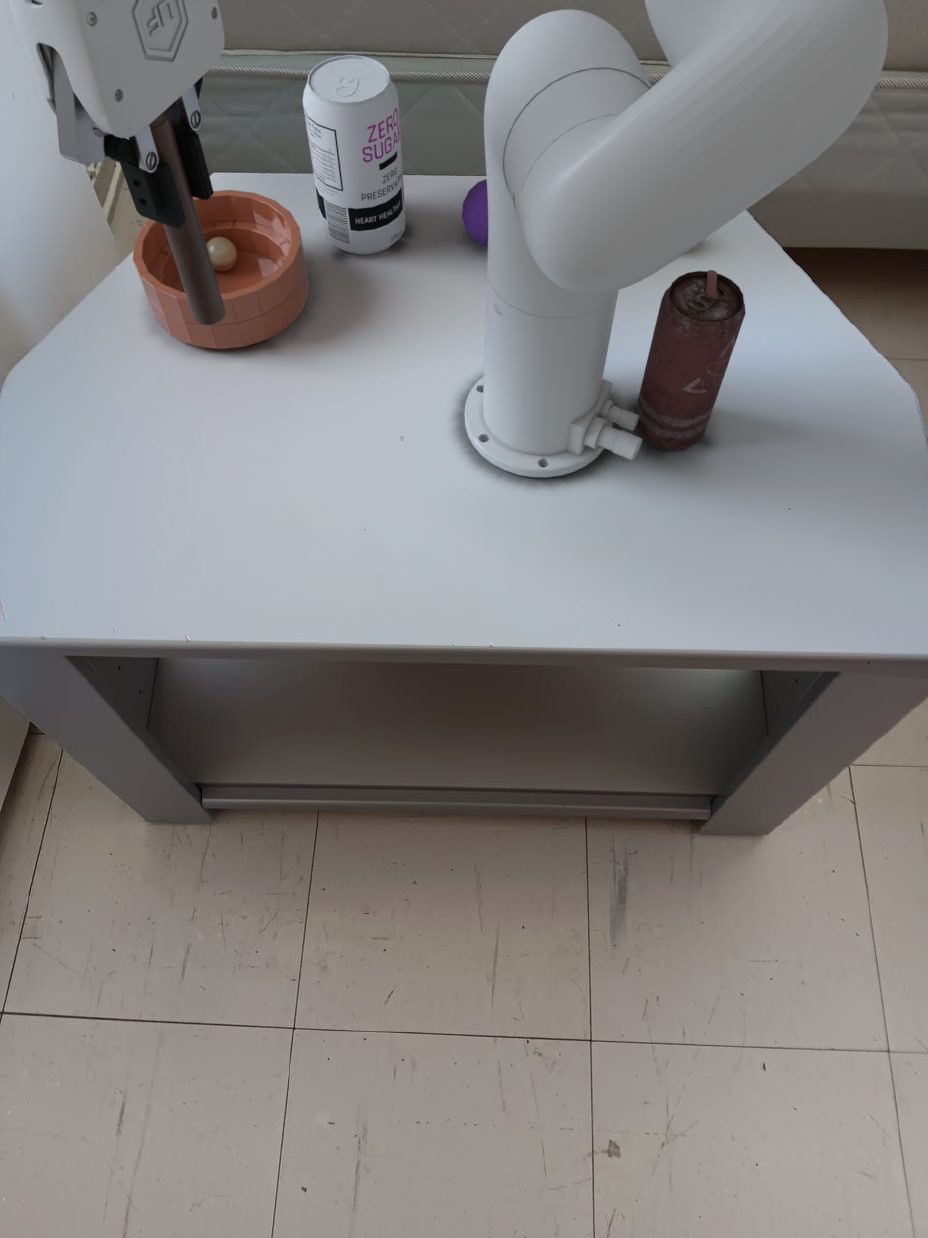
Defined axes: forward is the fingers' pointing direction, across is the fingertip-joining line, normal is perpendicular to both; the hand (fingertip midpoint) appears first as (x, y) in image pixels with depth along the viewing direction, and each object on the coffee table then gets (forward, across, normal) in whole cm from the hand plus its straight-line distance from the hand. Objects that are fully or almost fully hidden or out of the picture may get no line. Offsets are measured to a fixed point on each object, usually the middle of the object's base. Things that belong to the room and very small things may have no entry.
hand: (175, 203), depth 55 cm
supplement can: (+24, +29, +6) cm, 39 cm away
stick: (+9, 0, 0) cm, 9 cm away
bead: (+22, +18, +15) cm, 32 cm away
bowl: (+24, +16, +12) cm, 31 cm away
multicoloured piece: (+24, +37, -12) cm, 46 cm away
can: (+24, +19, -30) cm, 43 cm away
